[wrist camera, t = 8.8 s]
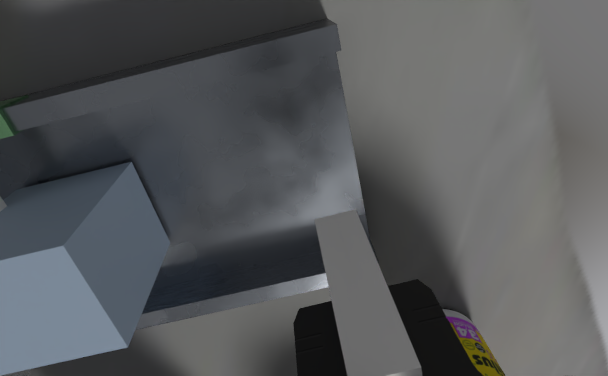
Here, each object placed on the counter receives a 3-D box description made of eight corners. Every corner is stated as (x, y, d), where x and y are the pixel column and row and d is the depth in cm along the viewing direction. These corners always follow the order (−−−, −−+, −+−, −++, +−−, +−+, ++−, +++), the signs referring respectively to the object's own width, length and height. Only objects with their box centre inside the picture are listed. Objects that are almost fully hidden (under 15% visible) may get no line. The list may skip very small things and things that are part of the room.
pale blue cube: (66, 266, 22) (-17, 379, 16) (-17, 139, 18) (-167, 219, 12) (170, 243, 21) (127, 347, 15) (106, 109, 18) (17, 174, 12)
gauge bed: (30, 319, 25) (-85, 477, 17) (-117, 129, 19) (-402, 233, 11) (368, 243, 24) (416, 371, 16) (327, 16, 18) (369, 40, 10)
